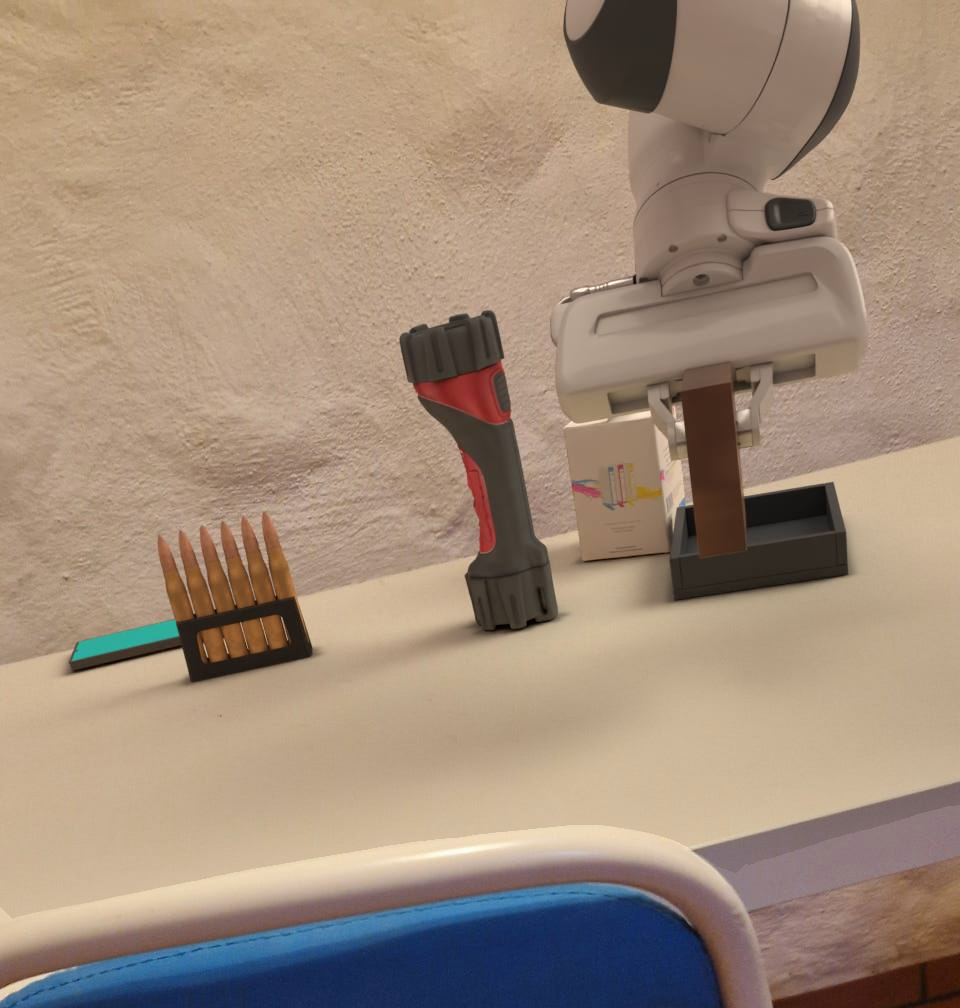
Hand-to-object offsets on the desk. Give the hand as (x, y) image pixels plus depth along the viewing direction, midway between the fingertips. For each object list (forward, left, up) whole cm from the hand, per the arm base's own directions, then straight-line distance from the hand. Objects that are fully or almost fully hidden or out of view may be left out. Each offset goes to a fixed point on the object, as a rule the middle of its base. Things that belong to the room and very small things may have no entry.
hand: (715, 448), depth 90 cm
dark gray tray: (-2, -25, -14) cm, 28 cm away
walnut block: (0, +1, -5) cm, 6 cm away
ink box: (+9, -36, -14) cm, 39 cm away
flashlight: (+19, -18, -14) cm, 30 cm away
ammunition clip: (+41, -16, -14) cm, 46 cm away
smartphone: (+55, -27, -14) cm, 63 cm away
